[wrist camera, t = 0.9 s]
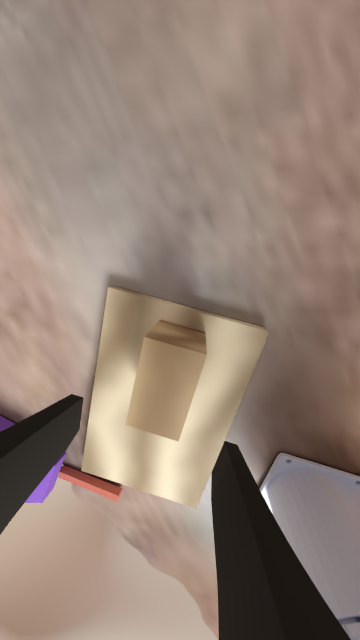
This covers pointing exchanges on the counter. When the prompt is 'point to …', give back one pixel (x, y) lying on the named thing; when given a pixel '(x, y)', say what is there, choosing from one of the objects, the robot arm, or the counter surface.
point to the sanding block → (166, 379)
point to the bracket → (50, 478)
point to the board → (205, 410)
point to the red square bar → (90, 483)
